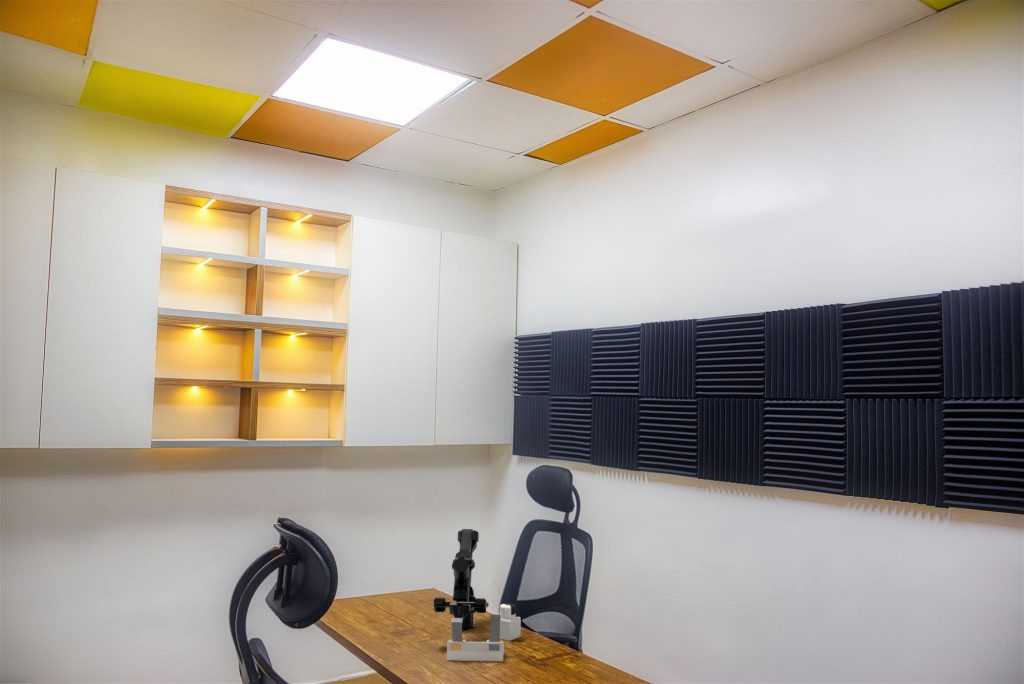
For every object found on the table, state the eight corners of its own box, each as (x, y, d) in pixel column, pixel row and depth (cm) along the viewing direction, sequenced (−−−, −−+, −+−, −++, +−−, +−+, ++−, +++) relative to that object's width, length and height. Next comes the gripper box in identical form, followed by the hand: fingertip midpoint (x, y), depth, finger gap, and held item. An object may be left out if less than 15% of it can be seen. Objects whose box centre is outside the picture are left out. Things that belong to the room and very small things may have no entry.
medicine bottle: (505, 633, 284) (505, 600, 285) (520, 636, 280) (521, 603, 281) (494, 637, 278) (494, 604, 280) (509, 641, 274) (510, 607, 275)
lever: (489, 645, 259) (490, 615, 263) (500, 645, 259) (500, 615, 263) (489, 645, 257) (490, 614, 261) (499, 645, 257) (500, 614, 261)
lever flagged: (452, 642, 260) (451, 617, 257) (462, 642, 260) (462, 618, 257) (451, 646, 258) (451, 622, 255) (462, 646, 257) (461, 622, 254)
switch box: (449, 651, 262) (449, 634, 262) (503, 652, 261) (503, 634, 262) (446, 660, 252) (446, 642, 253) (502, 661, 252) (503, 643, 253)
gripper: (487, 599, 280) (485, 639, 268) (437, 598, 280) (433, 638, 268) (486, 583, 272) (484, 623, 260) (435, 582, 273) (431, 622, 261)
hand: (458, 627), depth 263 cm, fingers closed
